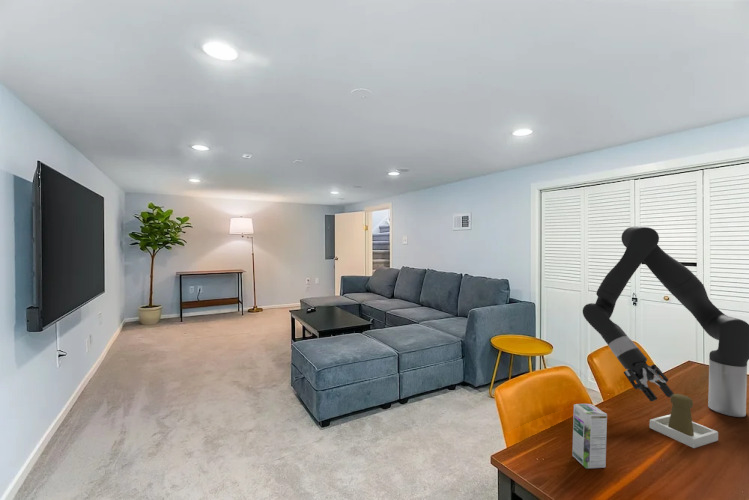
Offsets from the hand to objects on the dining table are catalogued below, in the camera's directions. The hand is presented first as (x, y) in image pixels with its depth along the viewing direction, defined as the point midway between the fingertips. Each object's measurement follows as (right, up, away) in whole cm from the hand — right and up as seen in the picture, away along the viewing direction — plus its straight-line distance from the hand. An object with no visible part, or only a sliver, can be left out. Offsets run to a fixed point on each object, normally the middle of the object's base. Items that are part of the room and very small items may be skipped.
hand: (663, 398), depth 110 cm
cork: (+2, -8, -4) cm, 10 cm away
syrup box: (-36, -9, -19) cm, 41 cm away
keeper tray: (+2, -9, -5) cm, 10 cm away
